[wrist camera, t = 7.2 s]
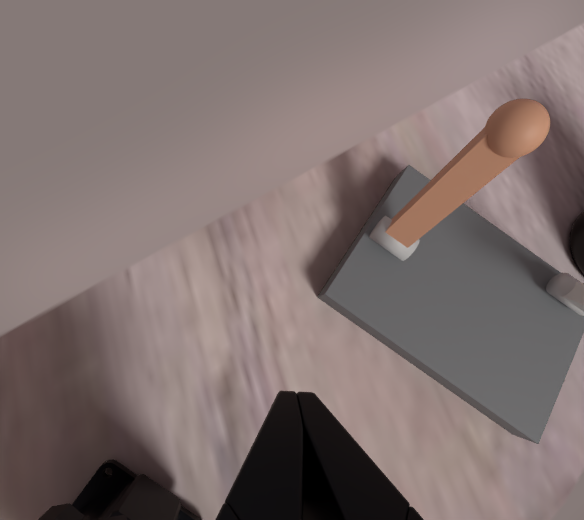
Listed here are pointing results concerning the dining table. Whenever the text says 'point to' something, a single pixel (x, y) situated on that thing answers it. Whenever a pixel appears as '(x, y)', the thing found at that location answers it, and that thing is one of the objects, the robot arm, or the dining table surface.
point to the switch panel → (463, 311)
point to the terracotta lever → (466, 174)
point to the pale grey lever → (567, 291)
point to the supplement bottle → (578, 241)
